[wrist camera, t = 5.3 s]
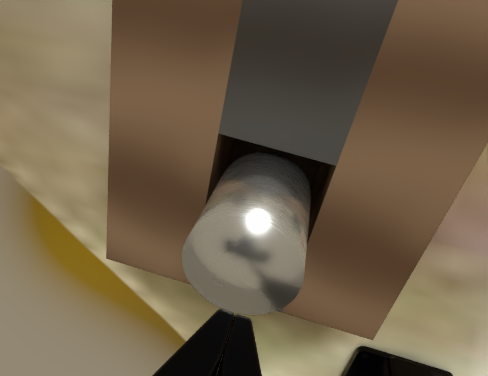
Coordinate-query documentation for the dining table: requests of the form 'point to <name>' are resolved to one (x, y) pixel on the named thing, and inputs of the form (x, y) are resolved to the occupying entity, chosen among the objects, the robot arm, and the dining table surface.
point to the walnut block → (299, 130)
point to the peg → (251, 236)
